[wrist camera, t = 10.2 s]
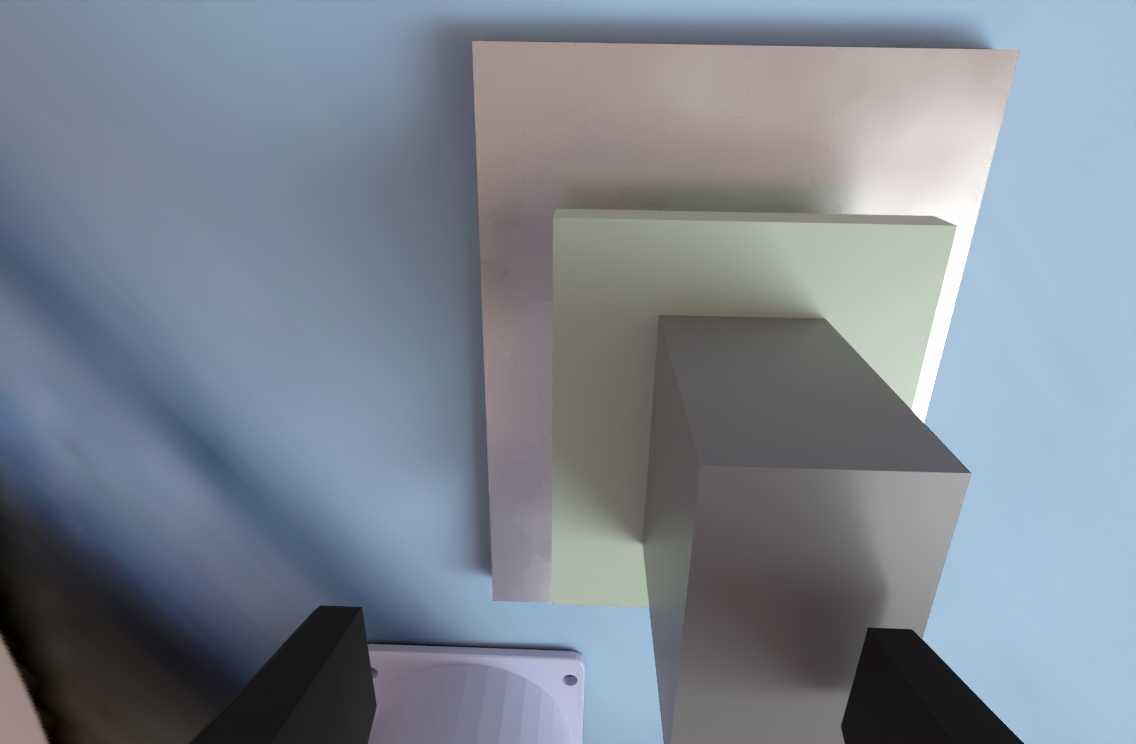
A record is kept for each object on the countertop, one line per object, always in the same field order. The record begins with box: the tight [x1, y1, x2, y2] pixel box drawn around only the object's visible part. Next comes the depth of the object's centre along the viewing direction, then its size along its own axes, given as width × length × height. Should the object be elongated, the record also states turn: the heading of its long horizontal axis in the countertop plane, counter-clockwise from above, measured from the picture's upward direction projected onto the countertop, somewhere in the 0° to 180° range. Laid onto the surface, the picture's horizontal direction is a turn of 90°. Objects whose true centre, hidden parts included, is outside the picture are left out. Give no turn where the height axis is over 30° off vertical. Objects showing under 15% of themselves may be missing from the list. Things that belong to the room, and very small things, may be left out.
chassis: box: [472, 41, 1020, 603], centre depth 18 cm, size 16×12×3 cm
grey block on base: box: [551, 209, 971, 744], centre depth 13 cm, size 10×8×7 cm
